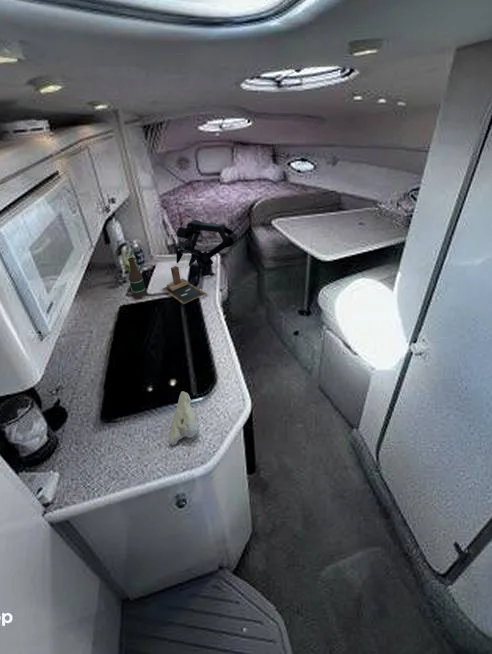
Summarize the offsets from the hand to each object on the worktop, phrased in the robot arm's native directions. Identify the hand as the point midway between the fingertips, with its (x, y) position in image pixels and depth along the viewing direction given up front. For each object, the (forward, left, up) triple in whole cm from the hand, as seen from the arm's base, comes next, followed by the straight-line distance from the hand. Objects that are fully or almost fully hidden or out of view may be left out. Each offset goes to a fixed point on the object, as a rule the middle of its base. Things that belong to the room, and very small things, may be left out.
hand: (183, 264), depth 198 cm
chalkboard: (+9, +8, -13) cm, 17 cm away
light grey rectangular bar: (+11, +11, -11) cm, 20 cm away
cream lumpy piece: (+68, +75, -13) cm, 103 cm away
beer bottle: (+25, -11, -13) cm, 31 cm away
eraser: (+7, +1, -11) cm, 14 cm away
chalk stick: (+7, +9, -11) cm, 16 cm away
